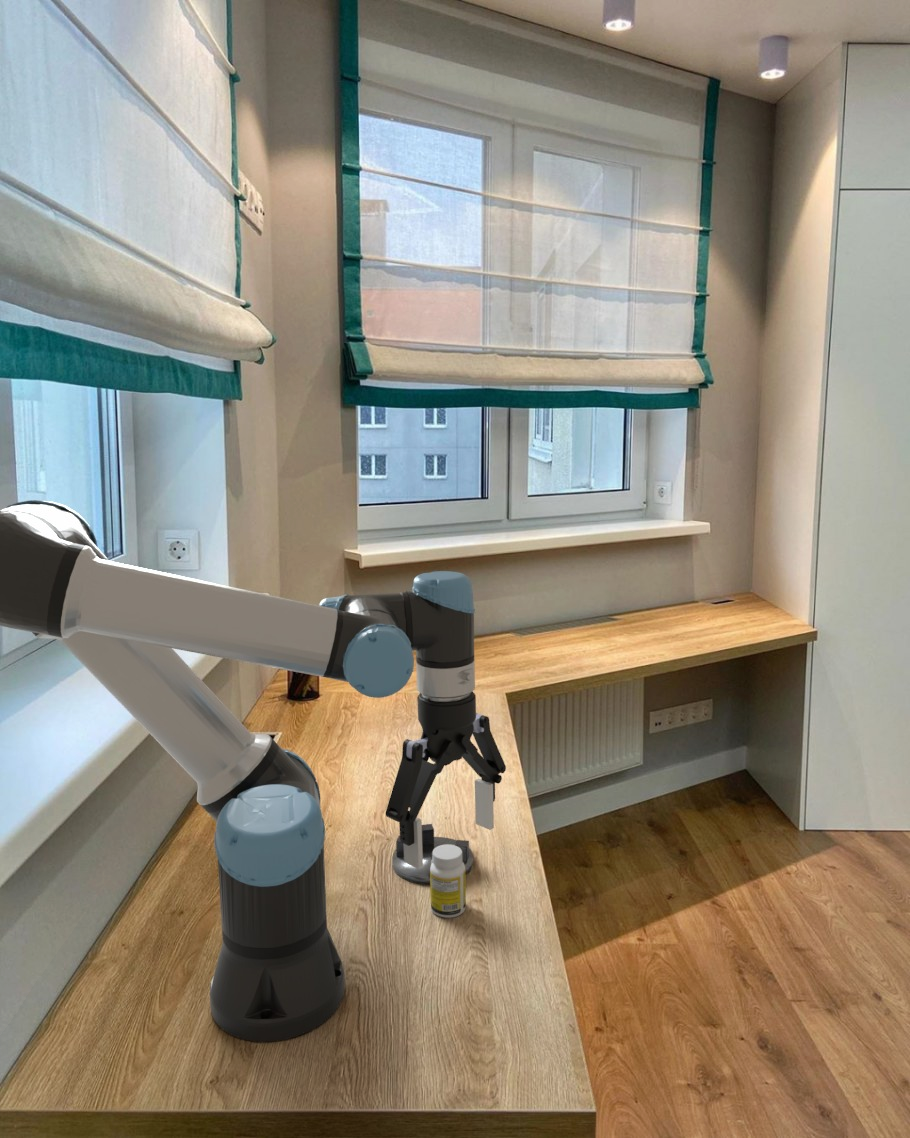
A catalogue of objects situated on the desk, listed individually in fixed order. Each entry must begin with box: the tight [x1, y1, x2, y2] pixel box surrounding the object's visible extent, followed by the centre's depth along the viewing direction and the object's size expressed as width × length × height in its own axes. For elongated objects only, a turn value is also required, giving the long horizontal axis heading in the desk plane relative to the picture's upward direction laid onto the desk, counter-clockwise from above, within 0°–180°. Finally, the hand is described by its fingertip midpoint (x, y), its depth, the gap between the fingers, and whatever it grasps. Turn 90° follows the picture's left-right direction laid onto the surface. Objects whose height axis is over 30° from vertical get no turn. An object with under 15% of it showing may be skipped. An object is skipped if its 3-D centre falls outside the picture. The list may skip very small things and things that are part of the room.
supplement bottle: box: [430, 844, 467, 919], centre depth 116 cm, size 5×5×8 cm
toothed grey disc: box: [391, 823, 474, 886], centre depth 128 cm, size 12×12×4 cm
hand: (450, 844), depth 115 cm, fingers open, 13 cm apart
